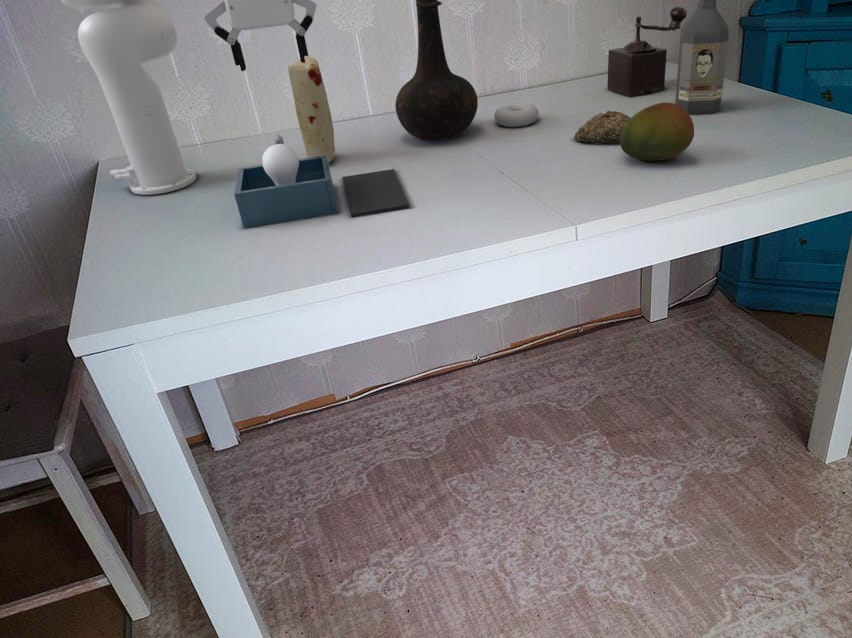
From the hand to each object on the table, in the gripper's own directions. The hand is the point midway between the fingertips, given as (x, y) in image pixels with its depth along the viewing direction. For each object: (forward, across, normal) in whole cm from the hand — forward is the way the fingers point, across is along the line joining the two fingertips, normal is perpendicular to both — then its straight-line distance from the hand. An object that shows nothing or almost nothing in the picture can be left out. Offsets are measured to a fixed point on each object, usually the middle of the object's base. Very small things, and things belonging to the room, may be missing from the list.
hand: (273, 65), depth 114 cm
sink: (+23, +2, +1) cm, 23 cm away
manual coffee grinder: (+23, -86, -40) cm, 98 cm away
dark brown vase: (+23, -31, -27) cm, 47 cm away
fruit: (+24, -64, +10) cm, 69 cm away
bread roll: (+23, -63, -8) cm, 67 cm away
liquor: (+24, -88, -17) cm, 92 cm away
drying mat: (+23, -12, +3) cm, 26 cm away
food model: (+23, -5, -21) cm, 32 cm away
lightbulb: (+23, +2, +2) cm, 23 cm away
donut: (+23, -49, -28) cm, 61 cm away
